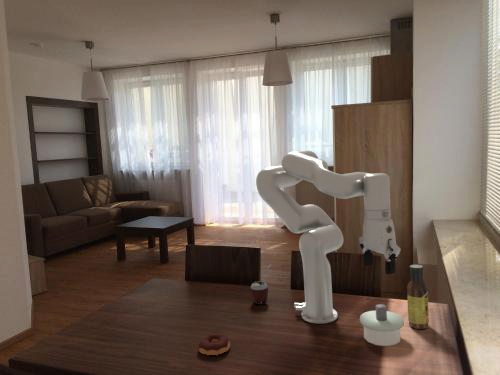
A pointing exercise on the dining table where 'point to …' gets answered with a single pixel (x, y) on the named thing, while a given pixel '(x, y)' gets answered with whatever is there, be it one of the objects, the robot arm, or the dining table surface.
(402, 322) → the lid
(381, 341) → the bowl
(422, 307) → the sauce bottle
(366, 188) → the robot arm
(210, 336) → the donut
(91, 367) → the dining table surface
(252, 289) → the mate gourd
